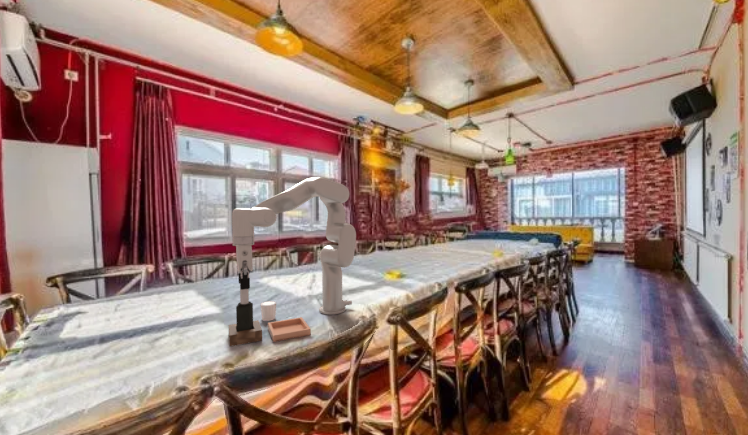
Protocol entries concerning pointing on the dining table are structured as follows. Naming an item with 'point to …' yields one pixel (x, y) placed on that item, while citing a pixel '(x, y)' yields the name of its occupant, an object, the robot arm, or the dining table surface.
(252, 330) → the block
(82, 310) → the dining table surface
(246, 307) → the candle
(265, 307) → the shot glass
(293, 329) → the tray
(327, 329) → the dining table surface
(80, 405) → the dining table surface
